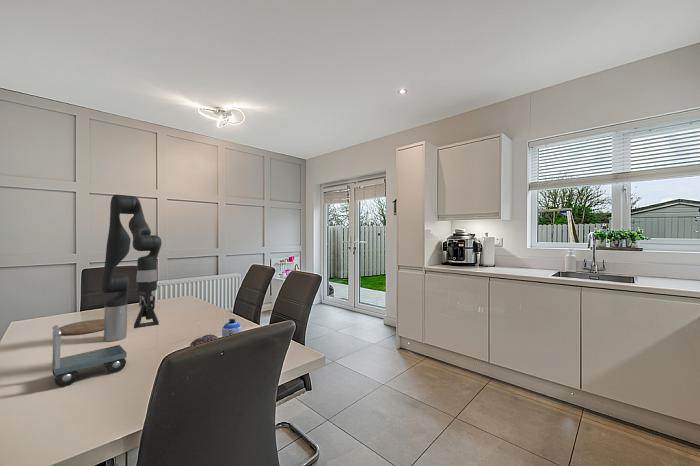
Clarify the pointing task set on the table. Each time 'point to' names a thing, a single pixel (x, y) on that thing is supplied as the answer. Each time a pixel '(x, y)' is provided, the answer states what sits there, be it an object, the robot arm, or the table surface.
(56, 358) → the trolley
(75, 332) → the trivet
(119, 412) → the table surface
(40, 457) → the table surface
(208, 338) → the decorative flower
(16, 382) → the table surface
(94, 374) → the table surface
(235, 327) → the aerosol can
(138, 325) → the triangular clip stand
